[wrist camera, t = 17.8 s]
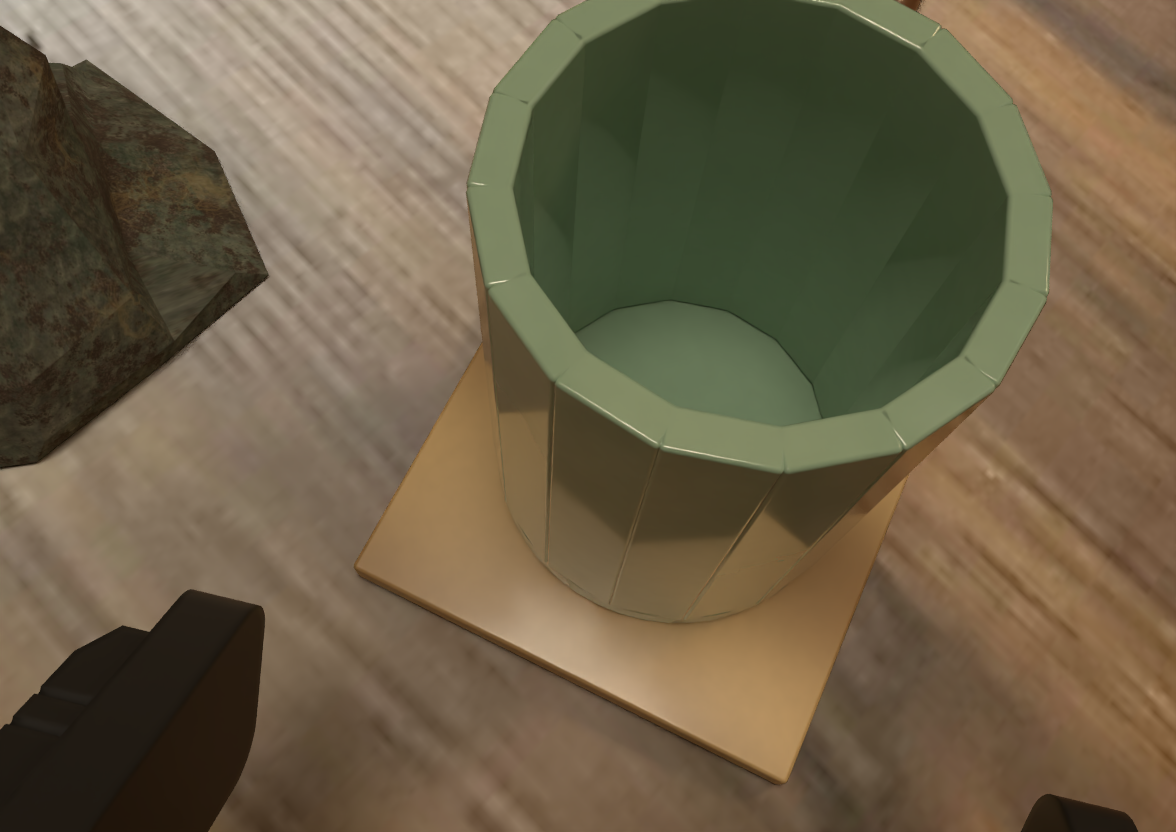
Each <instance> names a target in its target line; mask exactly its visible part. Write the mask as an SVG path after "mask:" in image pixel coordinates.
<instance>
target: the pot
mask: <svg viewBox="0 0 1176 832" xmlns="http://www.w3.org/2000/svg"><path fill="white" fill-rule="evenodd" d="M466 184H467V191H466V198H467V207H468V216H469V225H470V234H471V243H472V252H473V261H474V270H475V280H476V289H477V298H478V307H479V316H480V325H481V334H482V343H483V352H484V362H485V371H486V380H487V389H488V398H489V407H490V416H491V425H492V434H493V442H494V447H495V452H496V458H497V463H498V469H499V477H500V483H501V487H502V490H503V495H504V500H505V502H506V504H507V507H508V509H509V512H510V514H511V516H512V519H513V521H514V523H515V525H516V527H517V529H518V530H519V532H520V534H521V536H522V537H523V539H524V541H525V542H526V544H527V545H528V546H529V548H530V549H531V550H532V552H533V553H534V554H535V555H536V557H537V558H538V559H539V561H540V562H541V563H542V564H543V565H544V566H545V567H546V568H547V569H548V570H549V571H550V572H551V573H552V574H553V575H554V576H555V577H556V578H558V579H559V580H560V581H562V582H563V583H564V584H566V585H567V586H568V587H569V588H571V589H572V590H573V591H575V592H576V593H578V594H580V595H581V596H583V597H585V598H587V599H588V600H590V601H592V602H594V603H595V604H597V605H600V606H602V607H604V608H607V609H609V610H612V611H614V612H617V613H619V614H623V615H626V616H630V617H634V618H638V619H641V620H648V621H655V622H663V623H695V622H702V621H710V620H716V619H719V618H723V617H727V616H730V615H734V614H738V613H740V612H742V611H745V610H747V609H749V608H752V607H754V606H756V605H759V604H760V603H762V602H764V601H765V600H767V599H769V598H770V597H772V596H774V595H775V594H777V593H779V592H780V591H781V590H782V589H784V588H785V587H786V586H787V585H789V584H790V583H791V582H792V581H793V580H795V579H796V578H797V577H799V576H800V575H801V574H803V573H804V572H806V571H807V570H809V569H810V568H811V567H813V566H814V565H815V564H816V563H817V562H818V561H819V560H820V559H821V558H822V557H823V556H824V555H825V554H826V553H827V552H828V551H829V550H830V549H831V548H832V547H833V546H834V545H835V544H836V543H838V542H839V541H840V540H841V539H842V538H843V537H844V536H845V535H846V534H847V533H848V532H849V531H850V530H851V529H852V528H853V527H854V526H855V525H856V524H857V523H858V522H859V521H860V520H861V519H862V518H863V517H864V516H866V515H867V514H868V513H869V512H870V511H871V510H872V509H873V508H874V507H875V506H876V505H877V504H878V503H879V502H880V501H881V500H882V499H883V498H884V497H885V496H886V495H887V494H888V493H889V492H890V491H891V490H892V489H893V488H895V487H896V486H897V485H898V484H899V483H900V482H901V481H902V480H903V479H904V478H905V477H906V476H907V475H908V474H909V473H910V472H911V471H912V470H913V469H914V468H915V467H916V466H917V465H918V464H919V463H920V462H921V461H923V460H924V459H925V458H926V457H927V456H928V455H929V454H930V453H931V452H932V451H933V450H934V449H935V448H936V447H937V446H938V445H939V444H940V443H941V442H942V441H943V440H944V439H945V438H946V437H947V436H948V435H949V434H951V433H952V432H953V431H954V430H955V429H956V428H957V427H958V426H959V425H960V424H961V423H962V422H963V421H964V420H965V419H966V418H967V417H968V416H969V415H970V414H971V413H972V412H973V411H974V410H975V409H976V408H977V407H978V406H980V405H981V404H982V403H983V402H984V401H985V400H986V399H987V398H988V397H989V396H990V395H991V394H992V393H993V392H994V390H995V389H996V388H997V387H998V386H999V385H1000V384H1001V382H1002V380H1003V379H1004V377H1005V375H1006V373H1007V372H1008V370H1009V368H1010V366H1011V364H1012V363H1013V361H1014V359H1015V357H1016V356H1017V354H1018V352H1019V350H1020V348H1021V347H1022V345H1023V343H1024V341H1025V340H1026V338H1027V336H1028V334H1029V332H1030V331H1031V329H1032V327H1033V325H1034V324H1035V322H1036V320H1037V318H1038V316H1039V315H1040V313H1041V311H1042V309H1043V308H1044V306H1045V304H1046V300H1047V296H1048V294H1049V278H1050V256H1051V233H1052V211H1053V199H1052V198H1051V189H1050V187H1049V184H1048V182H1047V179H1046V177H1045V174H1044V172H1043V169H1042V167H1041V164H1040V162H1039V159H1038V157H1037V154H1036V152H1035V150H1034V147H1033V145H1032V142H1031V140H1030V137H1029V135H1028V132H1027V130H1026V127H1025V125H1024V122H1023V120H1022V117H1021V115H1020V112H1019V110H1018V108H1017V106H1016V105H1015V104H1013V100H1012V98H1011V97H1010V96H1009V95H1008V94H1007V93H1006V92H1005V91H1004V89H1003V88H1002V87H1001V86H1000V85H999V84H998V83H997V82H996V81H995V80H994V79H993V78H992V77H991V76H990V75H989V74H988V73H987V71H986V70H985V69H984V68H983V67H982V66H981V65H980V64H979V63H978V62H977V61H976V60H975V59H974V58H973V57H972V56H971V54H970V53H969V52H968V51H967V50H966V49H965V48H964V47H963V46H962V45H961V44H960V43H959V42H958V41H957V40H956V39H955V38H954V36H953V35H952V34H951V33H950V32H949V31H948V30H947V29H945V28H943V29H941V25H940V24H939V23H937V22H935V21H933V20H931V19H929V18H927V17H926V16H924V15H922V14H920V13H918V12H916V11H914V10H912V9H910V8H909V7H907V6H905V5H903V4H901V3H899V2H897V1H895V0H586V1H584V2H582V3H580V4H578V5H576V6H574V7H572V8H570V9H569V10H567V11H565V12H563V13H561V14H559V15H558V16H557V17H556V19H553V20H552V21H551V22H550V23H549V24H548V26H547V27H546V28H545V29H544V30H543V31H542V33H541V34H540V35H539V36H538V37H537V38H536V40H535V41H534V42H533V43H532V44H531V46H530V47H529V48H528V49H527V50H526V51H525V53H524V54H523V55H522V56H521V57H520V59H519V60H518V61H517V62H516V63H515V64H514V66H513V67H512V68H511V69H510V70H509V72H508V73H507V74H506V75H505V76H504V77H503V79H502V80H501V81H500V82H499V83H498V85H497V86H496V87H495V88H494V90H493V93H492V95H491V96H490V97H489V101H488V105H487V108H486V112H485V116H484V120H483V123H482V127H481V131H480V134H479V138H478V142H477V146H476V149H475V153H474V157H473V160H472V164H471V168H470V172H469V175H468V179H467V183H466Z"/></svg>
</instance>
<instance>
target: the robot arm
mask: <svg viewBox="0 0 1176 832" xmlns="http://www.w3.org/2000/svg"><path fill="white" fill-rule="evenodd" d="M264 628H265V615H264V610H263V608H262V607H261V606H259V605H255V604H251V603H246V602H242V601H238V600H234V599H230V598H226V597H222V596H217V595H213V594H209V593H205V592H201V591H197V590H191V589H190V590H188V591H186V592H184V593H183V594H182V595H181V596H180V597H179V598H178V599H177V601H176V602H175V603H174V604H173V605H172V606H171V608H170V609H169V610H168V611H167V612H166V614H165V615H164V616H163V617H162V618H161V619H160V621H159V622H158V623H157V624H156V625H155V626H154V628H153V629H152V630H151V631H150V632H147V631H143V630H139V629H135V628H131V627H127V626H121V627H119V628H117V629H115V630H113V631H111V632H109V633H107V634H106V635H104V636H102V637H100V638H98V639H96V640H94V641H92V642H90V643H89V644H87V645H85V646H83V647H81V648H79V649H77V650H75V651H74V652H73V653H72V654H71V655H70V656H69V657H68V658H67V659H66V660H65V661H64V662H63V664H62V665H61V666H60V667H59V668H58V669H57V670H56V671H55V672H54V673H53V674H52V675H51V676H50V677H49V678H48V679H47V681H46V682H45V683H44V684H43V685H42V686H41V689H40V692H39V693H38V694H33V695H32V697H31V698H30V699H29V700H28V701H27V702H26V703H25V704H24V705H23V706H22V707H21V708H20V709H19V710H18V711H17V713H16V714H15V715H14V716H13V720H12V722H11V724H10V725H9V724H5V725H4V726H3V727H2V728H1V730H0V832H208V831H209V829H210V827H211V826H212V824H213V822H214V821H215V819H216V817H217V816H218V814H219V812H220V811H221V809H222V807H223V806H224V804H225V802H226V801H227V799H228V797H229V796H230V794H231V792H232V791H233V789H234V787H235V785H236V784H237V782H238V780H239V778H240V775H241V773H242V771H243V768H244V766H245V763H246V761H247V758H248V755H249V752H250V748H251V745H252V741H253V737H254V732H255V727H256V718H257V707H258V695H259V684H260V673H261V662H262V650H263V639H264ZM1021 832H1138V830H1137V828H1136V826H1135V824H1134V822H1133V820H1132V819H1131V818H1130V817H1129V816H1128V815H1127V814H1126V813H1124V812H1121V811H1118V810H1114V809H1109V808H1105V807H1101V806H1097V805H1093V804H1089V803H1085V802H1080V801H1076V800H1072V799H1068V798H1064V797H1060V796H1056V795H1051V794H1046V795H1044V796H1042V797H1041V798H1039V799H1038V800H1037V802H1036V803H1035V804H1034V806H1033V808H1032V810H1031V812H1030V814H1029V816H1028V818H1027V820H1026V822H1025V824H1024V826H1023V828H1022V831H1021Z"/></svg>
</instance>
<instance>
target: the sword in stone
mask: <svg viewBox="0 0 1176 832" xmlns="http://www.w3.org/2000/svg"><path fill="white" fill-rule="evenodd" d="M267 275H268V273H267V270H266V268H265V266H264V263H263V261H262V259H261V257H260V254H259V252H258V250H257V247H256V245H255V243H254V241H253V238H252V236H251V234H250V231H249V229H248V227H247V225H246V222H245V220H244V218H243V215H242V213H241V211H240V208H239V206H238V204H237V202H236V199H235V197H234V195H233V192H232V190H231V188H230V186H229V183H228V181H227V179H226V176H225V174H224V172H223V169H222V167H221V165H220V163H219V160H218V158H217V156H216V153H215V151H213V150H212V149H211V148H209V147H208V146H206V145H205V144H204V143H202V142H201V141H199V140H198V139H197V138H195V137H194V136H192V135H191V134H190V133H188V132H187V131H185V130H184V129H183V128H181V127H180V126H178V125H177V124H176V123H174V122H173V121H172V120H170V119H169V118H167V117H166V116H165V115H163V114H162V113H160V112H159V111H158V110H156V109H155V108H153V107H152V106H151V105H149V104H148V103H146V102H145V101H144V100H142V99H141V98H139V97H138V96H137V95H135V94H134V93H132V92H131V91H130V90H128V89H127V88H125V87H124V86H123V85H121V84H120V83H118V82H117V81H116V80H114V79H113V78H111V77H110V76H109V75H107V74H106V73H104V72H103V71H102V70H100V69H99V68H97V67H96V66H95V65H93V64H92V63H90V62H89V61H88V60H84V61H83V62H81V63H79V64H77V65H75V66H73V67H70V66H68V65H65V64H61V63H49V62H48V60H47V57H46V55H44V54H43V53H41V52H40V51H38V50H37V49H35V48H34V47H32V46H31V45H29V44H27V43H26V42H24V41H23V40H21V39H20V38H18V37H17V36H15V35H14V34H12V33H11V32H9V31H8V30H6V29H4V28H3V27H1V26H0V467H4V466H11V465H19V464H26V463H33V462H37V461H39V460H40V459H41V458H42V457H44V456H45V455H46V454H48V453H49V452H50V451H51V450H53V449H54V448H55V447H57V446H58V445H59V444H60V443H62V442H63V441H64V440H66V439H67V438H68V437H69V436H71V435H72V434H73V433H75V432H76V431H77V430H78V429H80V428H81V427H82V426H84V425H85V424H86V423H87V422H89V421H90V420H91V419H93V418H94V417H95V416H96V415H98V414H99V413H100V412H102V411H103V410H104V409H106V408H107V407H108V406H109V405H111V404H112V403H113V402H115V401H116V400H117V399H118V398H120V397H121V396H122V395H124V394H125V393H126V392H127V391H129V390H130V389H131V388H133V387H134V386H135V385H136V384H138V383H139V382H140V381H142V380H143V379H144V378H145V377H147V376H148V375H149V374H151V373H152V372H153V371H154V370H156V369H157V368H158V367H160V366H161V365H162V364H163V363H165V362H166V361H167V360H168V359H170V358H171V357H172V356H173V355H174V354H175V353H177V352H178V351H179V350H180V349H181V348H183V347H184V346H185V345H186V344H187V343H188V342H190V341H191V340H192V339H193V338H194V337H196V336H197V335H198V334H199V333H200V332H201V331H203V330H204V329H205V328H206V327H207V326H208V325H210V324H211V323H212V322H213V321H214V320H216V319H217V318H218V317H219V316H220V315H221V314H223V313H224V312H225V311H226V310H227V309H229V308H230V307H231V306H232V305H233V304H234V303H236V302H237V301H238V300H239V299H240V298H241V297H243V296H244V295H245V294H246V293H247V292H249V291H250V290H251V289H252V288H253V287H254V286H256V285H257V284H258V283H259V282H260V281H262V280H263V279H264V278H265V277H266V276H267Z"/></svg>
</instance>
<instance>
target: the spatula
mask: <svg viewBox="0 0 1176 832" xmlns="http://www.w3.org/2000/svg"><path fill="white" fill-rule="evenodd" d="M895 1H897V2H899V3H901V4H903V5H905V6H907V7H909V8H910V9H912V10H914V11H916V10H917V8H918V6H919V4H920V2H921V0H895ZM908 476H909V474H908V475H907V476H906V477H905V478H904V479H903V480H902V481H901V482H900V483H899V484H898V485H897V486H896V487H895V488H893V489H892V490H891V491H890V492H889V493H888V494H887V495H886V496H885V497H884V498H883V499H882V500H881V501H880V502H879V503H878V504H877V505H876V506H875V507H874V508H873V509H872V510H871V511H870V512H869V513H868V514H867V515H866V516H864V517H863V518H862V519H861V520H860V521H859V522H858V523H857V524H856V525H855V526H854V527H853V528H852V529H851V530H850V531H849V532H848V533H847V534H846V535H845V536H844V537H843V538H842V539H841V540H840V541H839V542H838V543H836V544H835V545H834V546H833V547H832V548H831V549H830V550H829V551H828V552H827V553H826V554H825V555H824V556H823V557H822V558H821V559H820V560H819V561H818V562H817V563H816V564H815V565H814V566H813V567H811V568H810V569H809V570H807V571H806V572H804V573H803V574H801V575H800V576H799V577H797V578H796V579H795V580H793V581H792V582H791V583H790V584H789V585H787V586H786V587H785V588H784V589H782V590H781V591H780V592H779V593H777V594H775V595H774V596H772V597H770V598H769V599H767V600H765V601H764V602H762V603H760V604H759V605H756V606H754V607H752V608H749V609H747V610H745V611H742V612H740V613H738V614H734V615H730V616H727V617H723V618H719V619H716V620H710V621H702V622H695V623H663V622H655V621H648V620H641V619H638V618H634V617H630V616H626V615H623V614H619V613H617V612H614V611H612V610H609V609H607V608H604V607H602V606H600V605H597V604H595V603H594V602H592V601H590V600H588V599H587V598H585V597H583V596H581V595H580V594H578V593H576V592H575V591H573V590H572V589H571V588H569V587H568V586H567V585H566V584H564V583H563V582H562V581H560V580H559V579H558V578H556V577H555V576H554V575H553V574H552V573H551V572H550V571H549V570H548V569H547V568H546V567H545V566H544V565H543V564H542V563H541V562H540V561H539V559H538V558H537V557H536V555H535V554H534V553H533V552H532V550H531V549H530V548H529V546H528V545H527V544H526V542H525V541H524V539H523V537H522V536H521V534H520V532H519V530H518V529H517V527H516V525H515V523H514V521H513V519H512V516H511V514H510V512H509V509H508V507H507V504H506V502H505V500H504V495H503V490H502V487H501V483H500V477H499V469H498V463H497V458H496V452H495V447H494V442H493V434H492V425H491V416H490V407H489V398H488V389H487V380H486V371H485V362H484V352H483V343H481V345H480V346H479V348H478V350H477V352H476V353H475V355H474V357H473V359H472V360H471V362H470V364H469V366H468V367H467V369H466V371H465V372H464V374H463V376H462V378H461V379H460V381H459V383H458V385H457V386H456V388H455V390H454V392H453V393H452V395H451V397H450V399H449V400H448V402H447V404H446V406H445V407H444V409H443V411H442V412H441V414H440V416H439V418H438V419H437V421H436V423H435V425H434V426H433V428H432V430H431V432H430V433H429V435H428V437H427V439H426V440H425V442H424V444H423V446H422V447H421V449H420V451H419V452H418V454H417V456H416V458H415V459H414V461H413V463H412V465H411V466H410V468H409V470H408V472H407V473H406V475H405V477H404V479H403V480H402V482H401V484H400V486H399V487H398V489H397V491H396V492H395V494H394V496H393V498H392V499H391V501H390V503H389V505H388V506H387V508H386V510H385V512H384V513H383V515H382V517H381V519H380V520H379V522H378V524H377V526H376V527H375V529H374V531H373V532H372V534H371V536H370V538H369V539H368V541H367V543H366V545H365V546H364V548H363V550H362V552H361V553H360V555H359V557H358V559H357V560H356V562H355V564H354V569H355V570H356V572H357V573H358V574H359V576H361V577H363V578H365V579H367V580H369V581H371V582H373V583H375V584H377V585H379V586H381V587H383V588H385V589H387V590H389V591H391V592H393V593H395V594H397V595H399V596H401V597H403V598H405V599H407V600H409V601H411V602H413V603H415V604H417V605H419V606H421V607H423V608H425V609H427V610H429V611H431V612H433V613H435V614H437V615H439V616H441V617H443V618H445V619H447V620H449V621H451V622H453V623H455V624H457V625H459V626H461V627H463V628H465V629H467V630H469V631H471V632H473V633H475V634H477V635H479V636H481V637H483V638H485V639H487V640H489V641H491V642H493V643H495V644H497V645H499V646H501V647H503V648H505V649H507V650H509V651H511V652H513V653H515V654H517V655H519V656H521V657H523V658H525V659H527V660H529V661H531V662H532V663H534V664H536V665H538V666H540V667H542V668H544V669H546V670H548V671H550V672H552V673H554V674H556V675H558V676H560V677H562V678H564V679H566V680H568V681H570V682H572V683H574V684H576V685H578V686H580V687H582V688H584V689H586V690H588V691H590V692H592V693H594V694H596V695H598V696H600V697H602V698H604V699H606V700H608V701H610V702H612V703H614V704H616V705H618V706H620V707H622V708H624V709H626V710H628V711H630V712H632V713H634V714H636V715H638V716H640V717H642V718H644V719H646V720H648V721H650V722H652V723H654V724H656V725H658V726H660V727H662V728H664V729H666V730H668V731H670V732H672V733H674V734H676V735H678V736H680V737H682V738H684V739H686V740H688V741H690V742H692V743H694V744H696V745H698V746H700V747H702V748H704V749H706V750H708V751H710V752H712V753H714V754H716V755H718V756H720V757H722V758H724V759H726V760H728V761H730V762H732V763H734V764H736V765H738V766H740V767H742V768H744V769H746V770H748V771H750V772H752V773H754V774H756V775H758V776H760V777H762V778H764V779H766V780H768V781H770V782H772V783H774V784H776V785H780V784H785V783H786V782H787V781H788V779H789V776H790V774H791V771H792V769H793V766H794V764H795V761H796V759H797V756H798V754H799V751H800V749H801V746H802V744H803V741H804V738H805V736H806V733H807V731H808V728H809V726H810V723H811V721H812V718H813V716H814V713H815V711H816V708H817V706H818V703H819V701H820V698H821V696H822V693H823V690H824V688H825V685H826V683H827V680H828V678H829V675H830V673H831V670H832V668H833V665H834V663H835V660H836V658H837V655H838V653H839V650H840V648H841V645H842V642H843V640H844V637H845V635H846V632H847V630H848V627H849V625H850V622H851V620H852V617H853V615H854V612H855V610H856V607H857V605H858V602H859V600H860V597H861V594H862V592H863V589H864V587H865V584H866V582H867V579H868V577H869V574H870V572H871V569H872V567H873V564H874V562H875V559H876V557H877V554H878V552H879V549H880V546H881V544H882V541H883V539H884V536H885V534H886V531H887V529H888V526H889V524H890V521H891V519H892V516H893V514H894V511H895V509H896V506H897V504H898V501H899V499H900V496H901V493H902V491H903V488H904V486H905V483H906V481H907V478H908Z"/></svg>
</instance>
